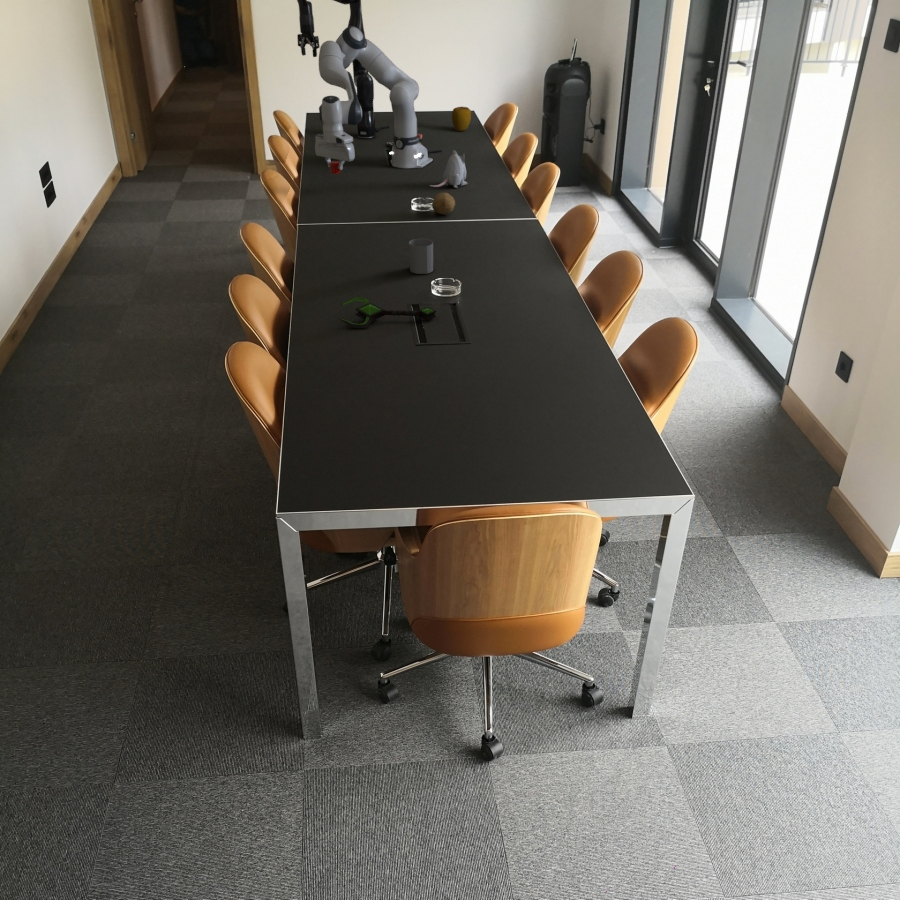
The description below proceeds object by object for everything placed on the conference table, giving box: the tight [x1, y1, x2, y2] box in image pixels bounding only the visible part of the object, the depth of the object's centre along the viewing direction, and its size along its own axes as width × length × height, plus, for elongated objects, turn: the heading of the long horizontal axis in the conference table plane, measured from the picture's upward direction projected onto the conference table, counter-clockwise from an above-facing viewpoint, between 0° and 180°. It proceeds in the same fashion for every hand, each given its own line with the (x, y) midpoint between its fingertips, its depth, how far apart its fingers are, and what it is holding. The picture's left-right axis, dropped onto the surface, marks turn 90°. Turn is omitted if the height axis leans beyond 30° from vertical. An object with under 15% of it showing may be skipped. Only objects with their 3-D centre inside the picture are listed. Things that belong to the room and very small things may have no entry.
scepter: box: [339, 296, 438, 329], centre depth 270 cm, size 6×13×30 cm
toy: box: [428, 149, 468, 189], centre depth 390 cm, size 9×24×15 cm, turn 137°
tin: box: [329, 160, 341, 175], centre depth 386 cm, size 4×4×4 cm
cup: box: [408, 237, 434, 275], centre depth 305 cm, size 8×8×10 cm
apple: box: [451, 105, 472, 132], centre depth 487 cm, size 11×11×13 cm
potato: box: [431, 192, 456, 216], centre depth 360 cm, size 10×14×8 cm
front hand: (335, 168), depth 386 cm, fingers closed on tin, 4 cm apart
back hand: (309, 56), depth 472 cm, fingers open, 8 cm apart
